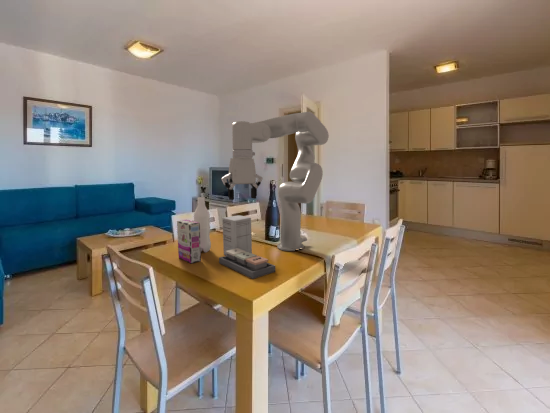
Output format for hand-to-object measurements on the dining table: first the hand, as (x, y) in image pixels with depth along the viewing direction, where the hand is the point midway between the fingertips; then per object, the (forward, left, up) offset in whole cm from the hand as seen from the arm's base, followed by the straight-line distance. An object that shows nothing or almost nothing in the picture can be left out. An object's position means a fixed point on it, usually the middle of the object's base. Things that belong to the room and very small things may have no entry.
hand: (242, 198), depth 119 cm
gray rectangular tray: (+2, +4, -26) cm, 27 cm away
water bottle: (+4, -27, -27) cm, 38 cm away
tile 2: (+2, +4, -24) cm, 25 cm away
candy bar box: (+14, -20, -27) cm, 36 cm away
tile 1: (+2, -3, -24) cm, 24 cm away
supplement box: (-5, -12, -27) cm, 30 cm away
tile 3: (+2, +11, -24) cm, 27 cm away
